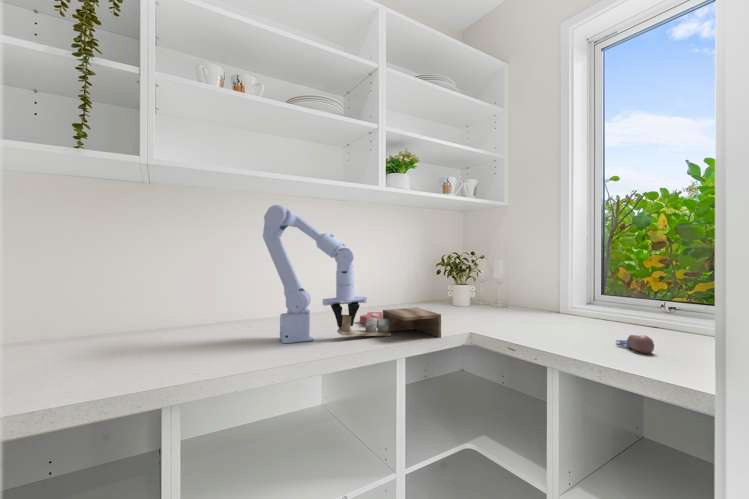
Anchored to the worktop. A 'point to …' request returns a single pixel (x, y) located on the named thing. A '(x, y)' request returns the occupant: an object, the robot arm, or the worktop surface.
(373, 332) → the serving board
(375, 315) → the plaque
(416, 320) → the wooden crate block
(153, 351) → the worktop surface
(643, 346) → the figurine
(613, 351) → the worktop surface
